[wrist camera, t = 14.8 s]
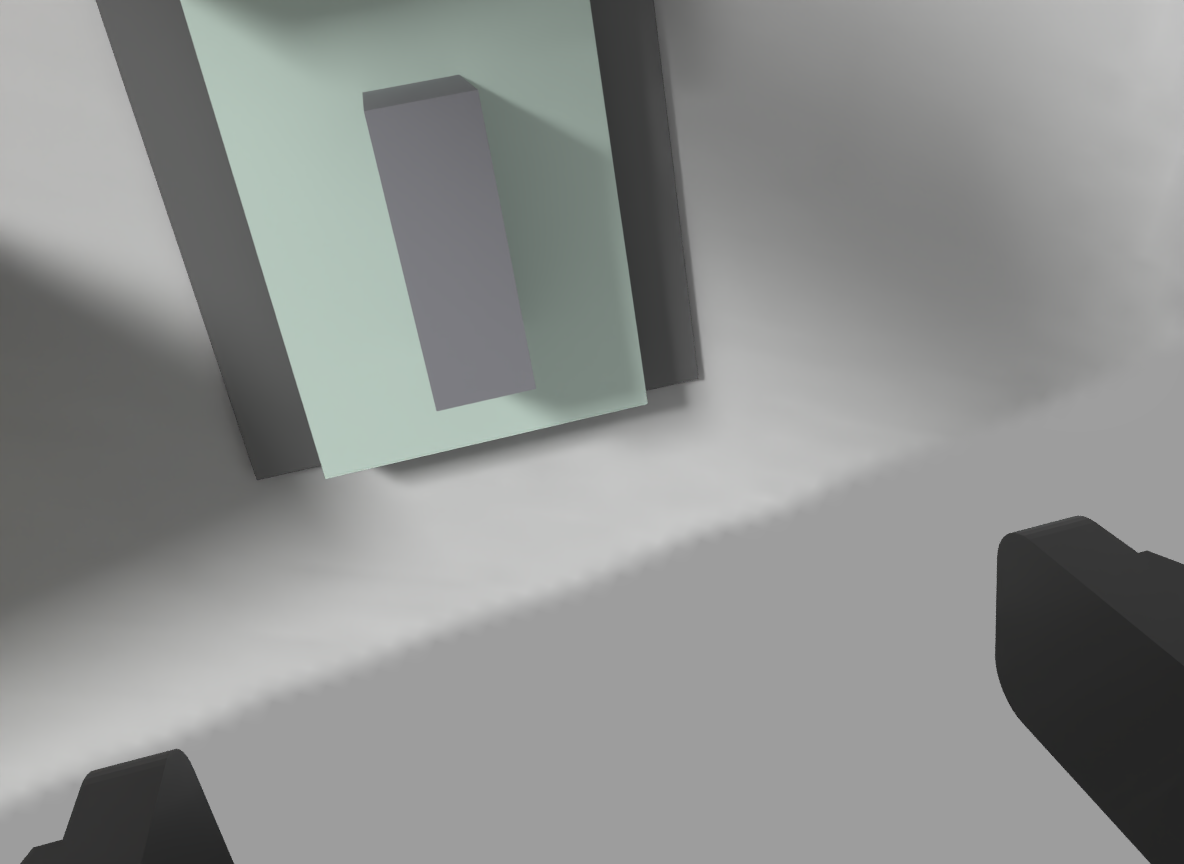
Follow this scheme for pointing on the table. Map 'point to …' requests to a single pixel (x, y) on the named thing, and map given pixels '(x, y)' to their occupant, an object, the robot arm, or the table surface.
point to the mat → (228, 255)
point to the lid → (428, 214)
